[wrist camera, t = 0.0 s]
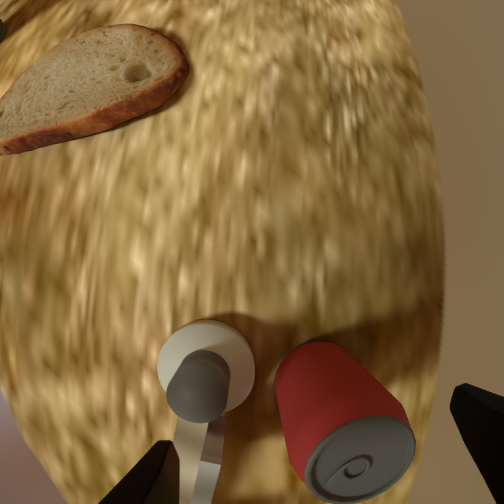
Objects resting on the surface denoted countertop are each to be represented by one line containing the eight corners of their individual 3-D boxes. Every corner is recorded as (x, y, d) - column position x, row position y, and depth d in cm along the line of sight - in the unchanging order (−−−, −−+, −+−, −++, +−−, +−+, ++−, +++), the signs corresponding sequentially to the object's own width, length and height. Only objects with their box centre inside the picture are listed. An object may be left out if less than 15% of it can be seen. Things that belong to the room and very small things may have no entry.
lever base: (223, 417, 23) (222, 429, 21) (148, 372, 23) (141, 381, 21) (272, 351, 24) (274, 359, 22) (192, 301, 23) (188, 305, 21)
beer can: (256, 372, 24) (263, 464, 12) (327, 322, 24) (393, 378, 12) (303, 427, 24) (335, 527, 12) (368, 381, 24) (441, 457, 12)
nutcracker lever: (184, 344, 21) (148, 396, 12) (241, 357, 21) (237, 418, 13) (155, 532, 21) (136, 592, 12) (195, 542, 21) (184, 604, 12)
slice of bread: (-15, 143, 24) (-37, 133, 20) (84, 11, 24) (72, -8, 20) (83, 233, 24) (59, 230, 20) (209, 61, 24) (205, 36, 20)
